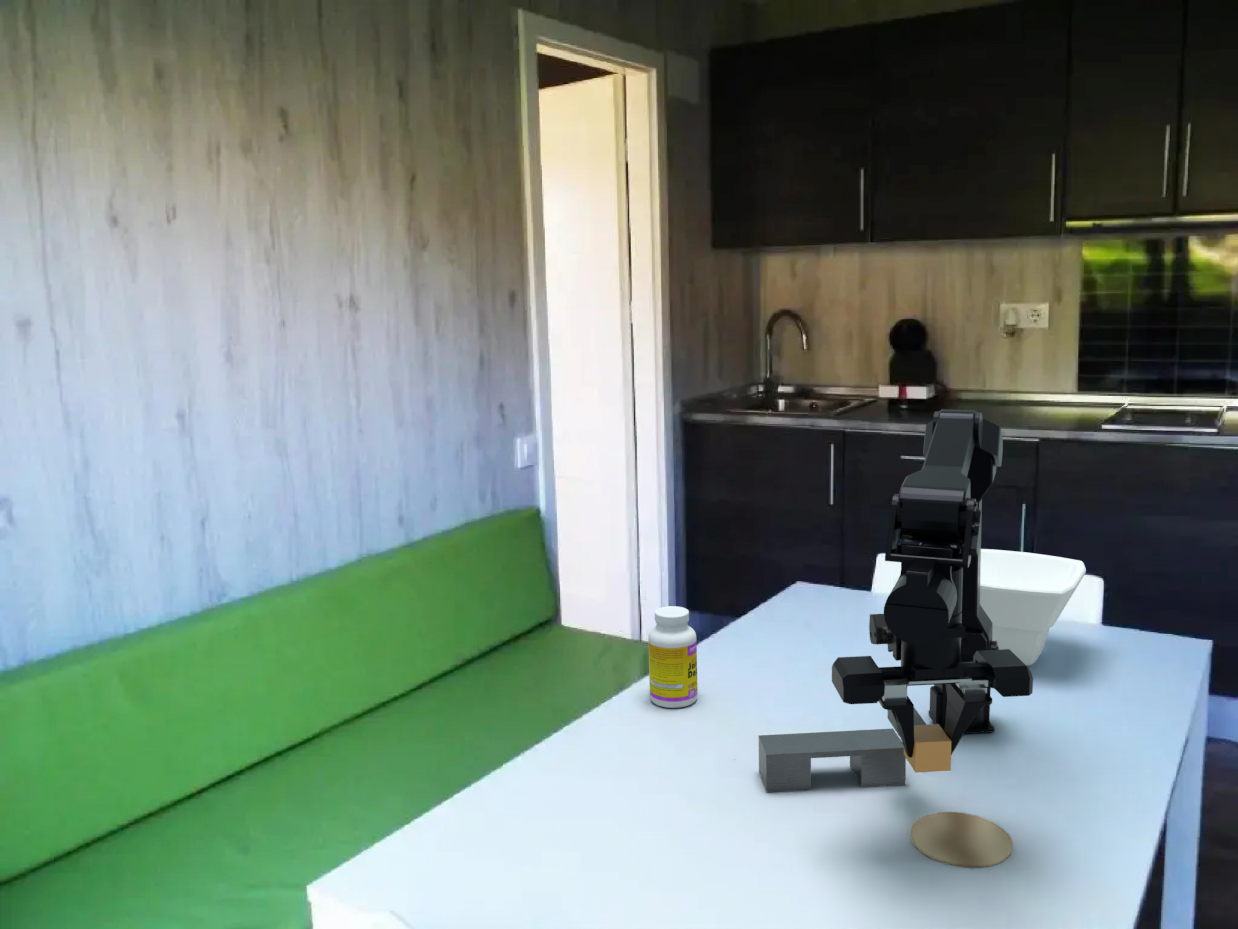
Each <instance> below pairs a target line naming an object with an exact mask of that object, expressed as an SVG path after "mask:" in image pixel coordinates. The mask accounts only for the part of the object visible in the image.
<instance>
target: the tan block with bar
mask: <svg viewBox="0 0 1238 929" xmlns="http://www.w3.org/2000/svg"><path fill="white" fill-rule="evenodd" d="M887 720H888V721H889V722H890V724H891V726H892V727H893V730H894V731H895V732H896V734H897V735H898V737H899V738H900V739H901V737H900V734H899V731H898V728H897V725H896V722H895V719H894V716H893V714H892V712H891V710H887ZM904 756H905V757H906V760H907V762H908V763H909V765H910V767H911V769H912V770H913V772H914V773H929V772H930V773H931V772H935V773H936V772H951V771H952V755H951V740H950V739H949V737H948V736H947V735H946V733H945V732H944V731H943V729H942V728H941V727H940V725H939V724H936V723H934V724H932V723H931V724H927V723H926V722H925V720H924V719H923V718H922V716H921V715H920V714H919V712H918V711H917V710H916V708H915V707H914V749H913V755H912V757H908V756H907V754H906V752H905V749H904Z"/></svg>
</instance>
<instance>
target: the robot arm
mask: <svg viewBox="0 0 1238 929" xmlns="http://www.w3.org/2000/svg"><path fill="white" fill-rule="evenodd" d="M932 417H933V419H932V420H931V421H929V422H927V423H926V424H925V427H924V428H925V429H924V440H923V450H922V451H923V452H922V454H923V457H924V462H923V464H922V467H921V469H920V470H918V471H917V470H916V471H915V472H913V473H911V474H908V475H907V476H906V477H905V478H904V481H903V482H902V484H901V487H900V489H899V492H898V493H894V494H893V496H892V500H891V506H890V515H889V521H888V530H887V536H886V544H885V545H886V546H885V553H884V561H885V562H893V563H900V568H901V569H900V573H899V574H900V575H899V576H898V579H897V581H896V582H895V584H894V585H893V587H892V590H891V591H890V592H889V594H888V596H887V597H886V600H885V603H884V606H883V613H874V614H873V613H872V614H871V613H870V614H869V625H868V629H869V630H868V631H869V632H868V633H869V640H870V642H871V644H872V645H887V652H889V653H892V657H893V658H894V659H895V661H900V665H899V666H881V667H880V666H878V664H877V663H876V662H875V660H874V659H873V658H872V656H871V655H861V656H859V655H858V656H841V657H840V656H838V657H837V658H836V659H835V661H834V662H833V664H832V665H831V682H832V684H833V686H834V688H835V690H836V691H837V694H838V695H839V697H840V699H841V701H842V703H844V704H848V705H864V704H877V703H879V704H880V706H881V707H882V709H884V710H887V711H888V710H891V712H892V714H893V716H894V719H895V722H896V725H897V728H898V731H899V734H900V736H899V738H900V737H901V738H900V740H901V741H902V743H903V746H904V749H905V752H906V754H907V756H908V757H912V755H913V749H914V708H915V706H914V703H913V702H912V700H911V699H910V697H909V696H908V687H909V686H910V687H911V686H912V687H913V686H930V687H929V688H930V689H929V710H928V716H929V717H930V718H931V719H932V721H934V724H939V725H940V727H941V728H942V729H943V731H944V732H945V733H946V735H947V736H948V737H949V739H950V740H951V756H952V755H953V753H954V752H955V750H956V748H957V746H958V744H959V743H960V741H961V739H962V737H963V736H964V734H975V733H976V734H977V733H979V734H980V733H994V732H995V726H994V725H993V724H992V722H990V716H991V714H990V712H991V705H992V704H993V697H991V689H994V690H995V691H996V692H997V693H998V694H1000V695H1001V697H1003V698H1008V697H1027V696H1028V697H1029V696H1031V695H1032V694H1033V687H1034V676H1033V673H1032V669H1030V667H1029V666H1028V665H1025V664H1024V663H1023V662H1022V661H1021V660H1020V659H1019V658H1018V657H1017V656H1016V655H1015V654H1014V653H1013V652H1012V651H1011V650H1010V649H1003V650H999V647H998V643H997V641H992V621H991V620H990V619H989V617H988V616H987V614H986V613H985V611H984V610H983V608H982V607H981V605H980V569H981V549H982V547H981V546H982V517H983V515H982V508H983V506H982V505H983V499H984V496H985V495H986V494H987V492H988V491H989V490H990V488H991V487H992V486H993V483H994V480H995V477H996V473H997V467H1002V462H1003V451H1004V450H1003V448H1004V447H1003V446H1004V444H1003V443H1004V442H1003V441H1004V440H1003V434H1002V433H1003V432H1002V427H1001V426H999V425H997V424H995V423H993V422H991V421H989V420H987V419H986V418H985V419H984V417H983V414H982V412H979V411H977V410H975V409H946V408H945V409H944V408H941V410H939V411H938V410H937V411H934V413H933V416H932ZM898 538H899V540H900V541H901V542H906V543H898ZM912 543H919V544H912Z"/></svg>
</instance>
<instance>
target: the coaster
mask: <svg viewBox="0 0 1238 929" xmlns="http://www.w3.org/2000/svg"><path fill="white" fill-rule="evenodd" d="M909 836H910V840H911V842H912V844H913V846H915V848H916V849H917V850H918V851H920V853H922V854H923V855H925V856H926V857H929V858H930V859H932V860H935V861H937V862H939V863H942V864H946V865H948V866H954V867H960V868H977V869H979V868H980V869H981V868H987V867H992V866H995V865H998V864H1000V863H1002V862H1004V861H1006V859H1008V858H1009V857H1010V856H1011V855H1012V852H1013V841H1012V840H1013V839H1012V838H1011V836H1010V834H1009V833H1008V832H1007V831H1006V830H1005V829H1004V828H1003V827H1001V826H1000V825H998V824H997V823H995V822H994V821H992V820H989V819H987V818H985V817H981V816H979V815H975V814H970V813H967V812H966V813H965V812H957V811H940V812H939V811H938V812H933V813H930V814H926V815H923V816H922V817H919V818H918V819H916V820H915V821H914V822H913V823H912V825H911V827H910V835H909Z"/></svg>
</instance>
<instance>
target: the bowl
mask: <svg viewBox="0 0 1238 929" xmlns="http://www.w3.org/2000/svg"><path fill="white" fill-rule="evenodd" d="M1086 572H1087V569H1086V566H1085V563H1084V562H1083V561H1082V560H1080V559H1073V558H1068V557H1062V556H1057V555H1056V556H1054V555H1049V554H1042V553H1033V552H1025V551H1017V550H1016V551H1014V550H1003V549H993V548H991V549H990V548H981V569H980V605H981V607H982V608H983V610H984V611H985V613H986V614H987V616H988V617H989V619H990V620H991V621H992V641H997V643H998V647H999V650H1003V649H1010V650H1011V651H1012V652H1013V653H1014V654H1015V655H1016V656H1017V657H1018V658H1019V659H1020V660H1021V661H1022V662H1023V663H1024V664H1025V665H1026V666H1031V665H1033V664H1035V663H1036V661H1037V660H1038V659H1039V657H1040V656H1041V654H1042V653H1043V649H1044V646H1045V644H1046V641H1047V638H1048V636H1049V635H1048V634H1049V631H1050V629H1051V628H1053V627H1054V625H1055V624H1056V623H1057V621H1058V619H1059V618H1060V616H1061V615H1062V612H1063V611H1064V610H1065V607H1066V606H1067V604H1068V602H1069V601H1070V600H1071V598H1072V596H1073V595H1074V593H1075V591H1076V590H1077V588H1078V586H1079V585H1080V583H1081V581H1082V579H1083V578H1084V577H1085V574H1086Z"/></svg>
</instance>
